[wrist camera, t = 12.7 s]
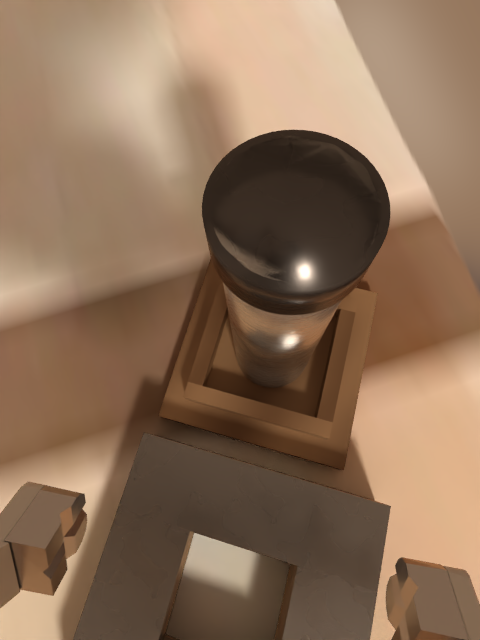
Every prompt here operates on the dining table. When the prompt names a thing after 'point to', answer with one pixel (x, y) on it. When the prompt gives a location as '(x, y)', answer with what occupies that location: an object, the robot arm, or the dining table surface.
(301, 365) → the lidded glass canister
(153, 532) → the socket block
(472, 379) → the dining table surface
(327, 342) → the square wooden tray
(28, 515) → the robot arm
